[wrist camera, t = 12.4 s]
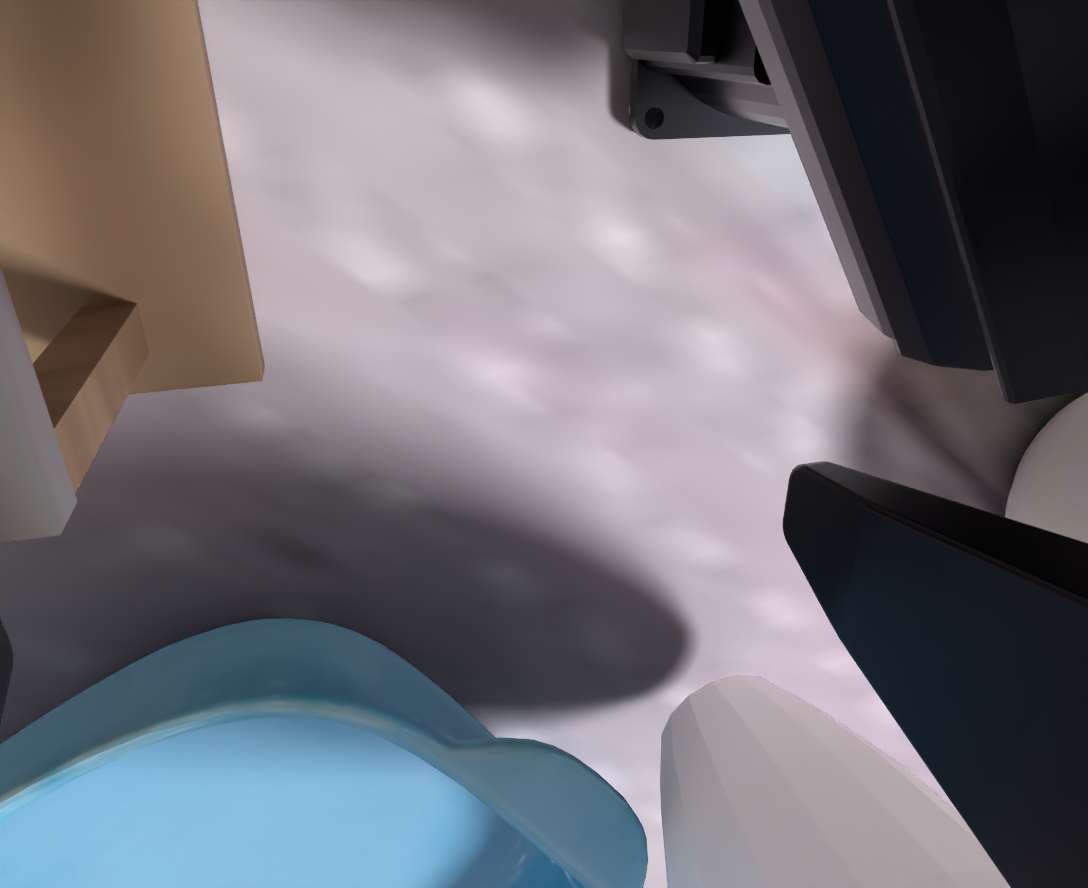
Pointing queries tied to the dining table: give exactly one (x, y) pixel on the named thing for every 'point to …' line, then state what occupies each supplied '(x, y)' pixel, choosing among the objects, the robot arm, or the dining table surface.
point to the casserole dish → (297, 779)
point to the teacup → (1055, 476)
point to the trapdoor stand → (107, 237)
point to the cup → (799, 802)
